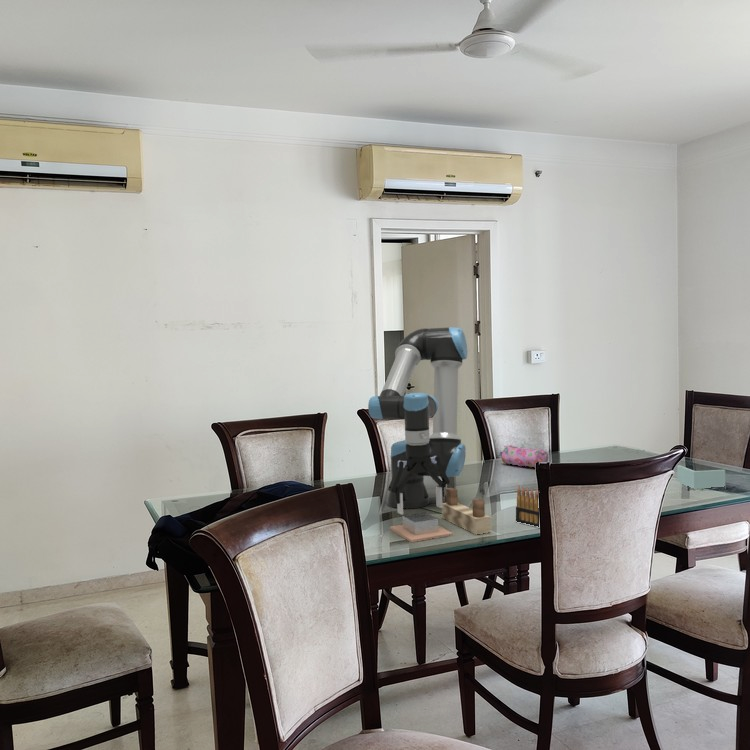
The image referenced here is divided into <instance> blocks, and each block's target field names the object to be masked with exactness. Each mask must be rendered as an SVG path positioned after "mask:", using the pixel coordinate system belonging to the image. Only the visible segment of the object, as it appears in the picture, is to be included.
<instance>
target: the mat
mask: <svg viewBox="0 0 750 750" xmlns="http://www.w3.org/2000/svg"><path fill="white" fill-rule="evenodd" d="M389 530H390V531H392V532H393V533H395V534H396V535H398V536H400V537H402V538H403V539H405V540H406V539H407V541H408V542H410V543H417V541H418V542H423V541H422V540H424V541H428V540H427V539H430V540H433V539H432V538H436V539H438V538H437V537H442V538H444V537H443V536H448V535H453V536H454V533H453V532H452V531H450V530H448V529H446V528H444V527H442V526H440V525H439V532H433V533H427V534H421V535H414V534H412V533H410V532H409V531H407V530H405V529H404V528H403V524H397V525H391V526H389ZM448 537H449V536H448Z"/></svg>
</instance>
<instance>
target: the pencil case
mask: <svg viewBox="0 0 750 750" xmlns="http://www.w3.org/2000/svg"><path fill="white" fill-rule="evenodd" d="M503 448H504V449H503V450H502V451H499V456H500V458H501V461H502V463H503V464H505V463H507V464H506V465H510V464H512V465H511V466H514V465H518V466H517V467H522V466H525V467H526V466H529V467H528V468H532V467H534V469H536V468H535V464H536V463H537V462H547V463H548V461H549V454H548V452H547V451H546V450H543V449H541V448H537V449H529V448H522V447H518V446H514V445H504V446H503Z"/></svg>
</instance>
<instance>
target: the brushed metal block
mask: <svg viewBox="0 0 750 750" xmlns="http://www.w3.org/2000/svg"><path fill="white" fill-rule="evenodd" d="M402 525H403V528H404V529H405V530H407V531H409V532H410V533H412V534H414V535H421V534H427V533H433V532H439V526H440V525H439V518H437V517H435V516H433V515H431V514H429V513H428V512H424V511H423V512H417V513H416V512H415V513H411V514H402Z"/></svg>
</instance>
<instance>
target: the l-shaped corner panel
mask: <svg viewBox="0 0 750 750" xmlns="http://www.w3.org/2000/svg"><path fill="white" fill-rule="evenodd" d="M676 471H677V472H676V475H677V479H676V480H677V481H678V482H680V483H682V484H684V485H686V486H689V487H691V488H694V489H697V488H711V487H724V486H725V487H726V469H711V470H708V469H707V470H693V469H690V468H689V467H688V468H687V467H686V466H683V465H681V464H680V465H679V464H678V465H677V470H676Z"/></svg>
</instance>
